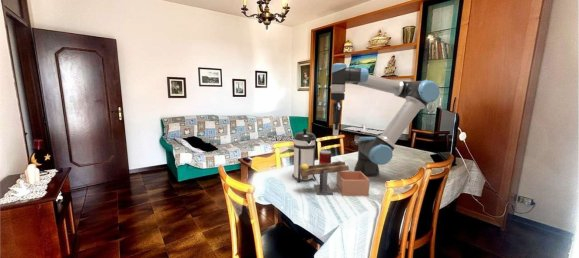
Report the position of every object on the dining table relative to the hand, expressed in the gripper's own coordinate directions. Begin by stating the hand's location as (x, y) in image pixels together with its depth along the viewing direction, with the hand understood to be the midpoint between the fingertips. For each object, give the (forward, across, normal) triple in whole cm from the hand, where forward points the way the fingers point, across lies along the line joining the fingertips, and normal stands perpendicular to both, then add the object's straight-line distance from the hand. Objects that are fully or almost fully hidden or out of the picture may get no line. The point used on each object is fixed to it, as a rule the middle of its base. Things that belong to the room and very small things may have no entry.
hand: (335, 135), depth 134 cm
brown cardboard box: (+27, +14, +7) cm, 31 cm away
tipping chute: (+18, +11, -8) cm, 23 cm away
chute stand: (+27, +14, -8) cm, 31 cm away
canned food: (+27, -24, -1) cm, 36 cm away
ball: (+15, +15, -18) cm, 27 cm away
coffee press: (+27, -3, -18) cm, 32 cm away
